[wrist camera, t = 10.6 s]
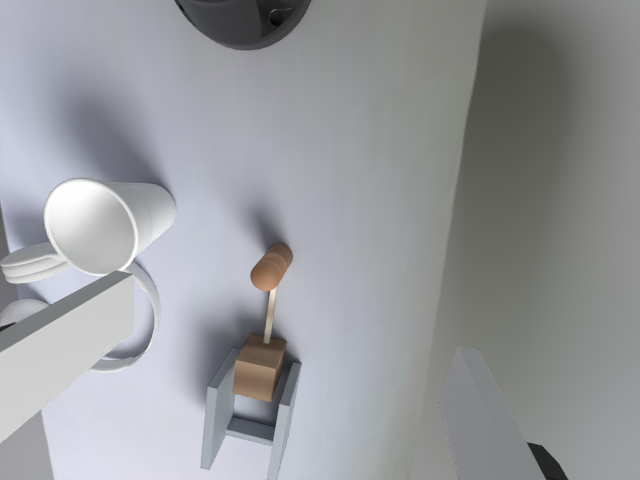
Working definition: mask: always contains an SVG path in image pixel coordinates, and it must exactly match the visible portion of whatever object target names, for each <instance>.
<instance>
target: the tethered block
mask: <svg viewBox="0 0 640 480" xmlns="http://www.w3.org/2000/svg"><path fill="white" fill-rule="evenodd" d="M292 259H293V254H292V251H291V250H290V248H289V247H287V246H286V245H283V244H276V245H273V246H272V247H271V248H270V249H269V250H268V251H267V253H266V254H265V255H264V256H263V257H262V258H261V260H260V261H259V262H258V263H257V264H256V265H255V267H254V268H253V269H252V271H251V275H250V277H251V281H252V283H253V285H254V286H255V287H256V288H258V289H259V290H262V291H270V297H269V305H268V312H267V319H266V327H265V334H264V336H262V335H257V334H253V333H251V335H250V336H249V338H248V340H247V342H246V343H245V345H244V347H243V348H242V350H241V352H240V354H239V355H238V357H237V359H236V362H235V371H234V381H233V390H232V393H234V394H238V395H242V396H246V397H250V398H255V399H259V400H263V401H267V402H271V400H272V397H273V395H274V392H275V389H276V386H277V384H278V381H279V378H280V375H281V373H282V368H283V361H284V355H285V349H286V343H287V341H284V340H280V339H275V338H271V337H270V336H271V329H272V322H273V315H274V308H275V301H276V294H277V287H278V284H279V282H280V280H281V279H282V277H283V275H284V274H285V272H286V270H287V269H288V267H289V265H290V264H291V262H292Z"/></svg>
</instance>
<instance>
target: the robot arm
mask: <svg viewBox="0 0 640 480" xmlns="http://www.w3.org/2000/svg"><path fill="white" fill-rule="evenodd" d="M175 2H176V4H177V6H178V7H179V9H180V10H181V12H182V13H183V15H184V16H185V17H186V18H187V19H188V21H189V22H190V23H191V24H192V25H193V26H194V27H195V28H196V29H198V30H199V31H200V32H201V33H203V34H204V35H206V36H207V37H209V38H210V39H212V40H214V41H215V42H217V43H219V44H221V45H223V46H226V47H229V48H232V49H237V50H256V49H261V48H265V47H268V46H270V45H272V44H274V43H276V42H278V41H280V40H281V39H283V38H284V37H285V36H286V35H288V34H289V33H290V32H291V31H292V30H293V29H294V28H295V27H296V26H297V24H298V23H299V22H300V20H301V19H302V17H303V16H304V14H305V12H306V11H307V9H308V7H309V4H310V2H311V0H175ZM133 279H134V274H132V273H127V272H123V271H118V270H115V271H113V272H111V273H109V274H108V275H106V276H104V277H102V278H100V279H98V280H96V281H94V282H93V283H91V284H89V285H87V286H85V287H83V288H81V289H79V290H78V291H76V292H74V293H72V294H70V295H68V296H66V297H65V298H63V299H61V300H59V301H57V302H55V303H53V304H51V305H50V306H48V307H46V308H44V309H42V310H40V311H38V312H36V313H35V314H33V315H31V316H29V317H27V318H25V319H23V320H21V321H20V322H18V323H16V322H14V323H11V324H7V325H4V326H1V327H0V443H1V442H2V441H4V440H5V439H6V438H7V437H8V436H10V435H11V434H12V433H13V432H14V431H15V430H17V429H18V428H19V427H20V426H22V425H23V424H24V423H25V422H26V421H27V420H29V419H30V418H31V417H32V416H34V415H35V414H36V413H37V412H38V411H39V410H41V409H42V408H43V407H44V406H45V405H47V404H48V403H49V402H50V401H51V400H53V399H54V398H55V397H56V396H57V395H59V394H60V393H61V392H62V391H63V390H65V389H66V388H67V387H68V386H69V385H70V384H72V383H73V382H74V381H75V380H76V379H78V378H79V377H80V376H81V375H82V374H84V373H85V372H86V371H87V370H88V369H90V368H91V367H92V366H93V365H94V364H96V363H97V362H98V361H99V360H100V359H102V358H103V357H104V356H105V355H106V354H107V353H109V352H110V351H111V350H112V349H113V348H115V347H116V346H117V345H118V344H119V343H121V342H122V341H123V340H124V339H125V338H127V337H128V336H129V335H130V334H131V333H133ZM438 404H439V408H440V411H441V415H442V419H443V423H444V427H445V430H446V434H447V438H448V441H449V445H450V449H451V452H452V457H453V460H454V464H455V467H456V472H457V475H458V479H459V480H568V479H567V477H566V475H565V473H564V472H563V470H562V468H561V467H560V465H559V464H558V462H557V461H556V460H555V459H554V458H553V457H552V456H551V455H550V454H549V453H548V452H547V451H546V449H545V448H544V447H543V446H541V445H537V444H533V443H528V442H526V440H525V438H524V437H523V435H522V433H521V431H520V429H519V427H518V425H517V423H516V421H515V419H514V417H513V415H512V413H511V412H510V410H509V408H508V406H507V404H506V402H505V400H504V398H503V396H502V394H501V392H500V391H499V388H498V387H497V385H496V383H495V381H494V379H493V377H492V375H491V373H490V371H489V369H488V367H487V365H486V363H485V362H484V360H483V358H482V356H481V354H480V352H479V350H477V349H473V348H468V347H464V346H460V345H458V346H457V350H456V352H455V355H454V358H453V361H452V364H451V367H450V370H449V373H448V376H447V379H446V382H445V385H444V387H443V390H442V394H441V396H440V399H439V402H438Z"/></svg>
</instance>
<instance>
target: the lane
mask: <svg viewBox="0 0 640 480" xmlns="http://www.w3.org/2000/svg"><path fill="white" fill-rule="evenodd" d="M239 354H240V349H236V348H232V349H231V351H230V352H229V354H228V355H227V357H226V358H225V360H224V362H223V363H222V365H221V366H220V368H219V369H218V371H217V373H216V374H215V376H214V377H213V379H212V380H211V382H210V384H209V385H208V387H207V398H206V410H205V421H204V433H203V444H202V456H201V467H200V468H203V469H207V470H210V467H211V465H212V463H213V461H214V459H215V457H216V455H217V453H218V451H219V448H220V446H221V444H222V442H223V440H224V438H225V436H226V435H228V436H232V437H236V438H240V439H244V440H248V441H252V442H256V443H260V444H264V445H268V446H272V451H271V457H270V463H269V469H268V475H267V480H277V478H278V474H279V470H280V466H281V462H282V458H283V455H284V451H285V447H286V443H287V439H288V435H289V430H290V425H291V419H292V414H293V408H294V403H295V397H296V392H297V386H298V381H299V376H300V370H301V365H302V364H301V363H296V362H293V364H292V367H291V370H290V373H289V376H288V379H287V382H286V385H285V388H284V392H283V395H282V398H281V401H280V404H279V410H278V416H277V421H276V427H272V426H268V425H264V424H260V423H256V422H252V421H248V420H244V419H240V418H235V417H233V409H234V401H235V394H234V393H232V390H233V381H234V371H235V362H236V359H237V357H238V355H239Z"/></svg>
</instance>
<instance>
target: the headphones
mask: <svg viewBox="0 0 640 480" xmlns="http://www.w3.org/2000/svg"><path fill="white" fill-rule="evenodd" d="M0 265H1V266H2V271H3V273H4V274H5V279H6V280H7V281H8V282H10V283H16V284H18V283H27V282H32V281H37V280H40V279H44V278H47V277H50V276H53V275H56V274H58V273H60V272H62V271H64V270H66V269H68V268H69V267H71V265H70V264H69V263H67V262H66V261H65V260H64V259H63V258H62V257H61V256H60V255H59V254H58V253H57V251H56V250H55V248H54V247H53V246H52V244H51V242H43V243H39V244H35V245H31V246H28V247H25V248H22V249H19V250H17V251H15V252H13V253H11V254H9V255H8V256H7V257H5V258H4V259H3V260H1V262H0ZM122 271H123V272H127V273H132V274H134V279H133V280H134V281H135V282H136V283H137V284H138V285H139V286H140V287H141V289H142V290H143V291H145V292H147V294H148V295H149V297H150V299H151V302H152V305H153V310H154V330H153V334H152V338H151V341H150V343H149V345H148V347H147V348H146V350H145V351H143V352H142V353H141V354H140V355H138V356H136V357H128V358H125V359H120V360H102V359H100V360H99V361H98V362H97V363H96V364H94V365H93V366H92V367H91V368H90V369H88V370H87V371H91V372H98V373H109V372H116V371H120V370H123V369H125V368H128V367H130V366H131V365H133V364H134V363H136V362H137V361H138V360H139V359H140V358H141V357H142V356H143V355H144V354H145V353H146V351H147V350H148V349H149V347H150V346H151V344H152V342H153V341H154V339H155V336H156V334H157V331H158V328H159V323H160V318H161V305H160V299H159V295H158V292H157V289H156V287H155V285H154V283H153V282H152V280H151V279H150V277H149V276H148V275H147V274H146V273H145V272H144V271H143V270H142V269H141V268H140V267H139V266H137V265H136V264H135V263H133V262H131V263H130V265H128V266H127V267H126V268H125V269H124V270H122ZM48 306H50V305H49V304H47V303H45V302H42V301H39V300H35V299H21V300H17V301H14V302H12V303H10V304H9V305H8V306H7V307H6V308H5V309H4V311H3V312H2V313H1V314H0V327H1V326H4V325H7V324H11V323H14V322H16V323H18V322H20V321H21V320H23V319H25V318H27V317H29V316H31V315H33V314H35V313H36V312H38V311H40V310H42V309H44V308H46V307H48Z"/></svg>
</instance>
